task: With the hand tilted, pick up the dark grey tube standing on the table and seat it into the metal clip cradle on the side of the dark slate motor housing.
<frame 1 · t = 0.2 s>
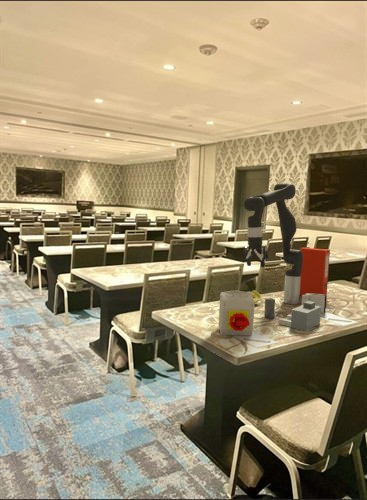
hand: (255, 266, 192), 28 cm above the table, tool pointing down, fingers open, 8 cm apart
motor: (305, 325, 184), on the table
dark grey tube: (269, 317, 196), on the table
plastic component: (246, 305, 221), on the table
file binder: (311, 296, 245), on the table
electrical switch box: (235, 334, 170), on the table
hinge: (312, 312, 208), on the table
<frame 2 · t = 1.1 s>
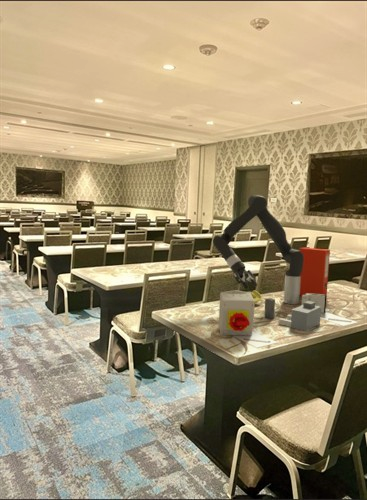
hand: (251, 287, 202), 15 cm above the table, tool tilted 45°, fingers open, 8 cm apart
nothing on the table moved.
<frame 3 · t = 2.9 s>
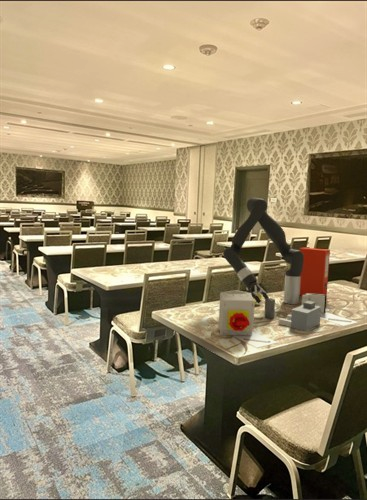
hand: (264, 301, 197), 8 cm above the table, tool tilted 45°, fingers open, 8 cm apart
nothing on the table moved.
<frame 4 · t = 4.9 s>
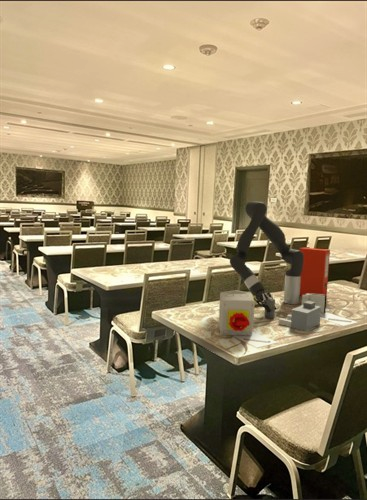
hand: (272, 310, 194), 4 cm above the table, tool tilted 45°, fingers closed on dark grey tube, 5 cm apart
dark grey tube: (269, 317, 196), on the table, touching gripper
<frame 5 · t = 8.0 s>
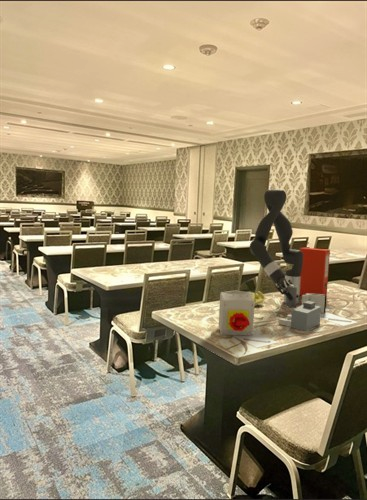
hand: (294, 298, 185), 13 cm above the table, tool tilted 45°, fingers closed on dark grey tube, 5 cm apart
dark grey tube: (290, 306, 187), point 9 cm above the table, touching gripper
when the fingers open (6 cm above the table, at t = 9.7 s): dark grey tube drops 1 cm, on the table.
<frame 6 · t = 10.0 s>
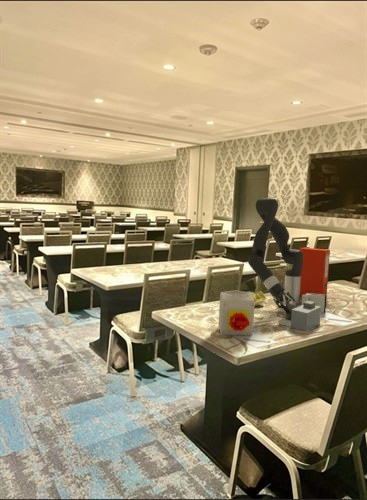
hand: (293, 311, 186), 6 cm above the table, tool tilted 45°, fingers open, 8 cm apart
dark grey tube: (289, 322, 188), on the table
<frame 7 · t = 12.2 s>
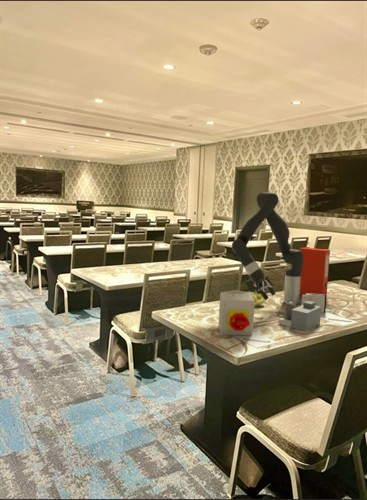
hand: (270, 296, 196), 11 cm above the table, tool tilted 35°, fingers open, 8 cm apart
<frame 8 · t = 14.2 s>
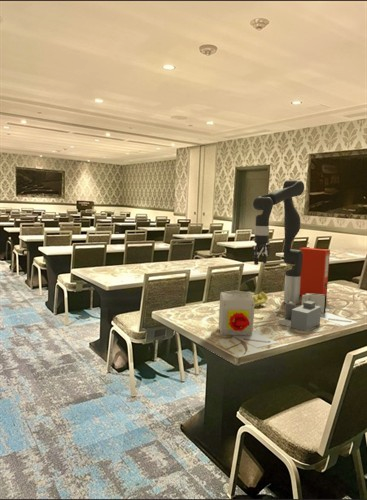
hand: (260, 263, 199), 28 cm above the table, tool pointing down, fingers open, 8 cm apart
at the end: dark grey tube inside the target area (0.1 cm from its centre), on the table; dark grey tube tilted 0°; the gripper is holding nothing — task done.
